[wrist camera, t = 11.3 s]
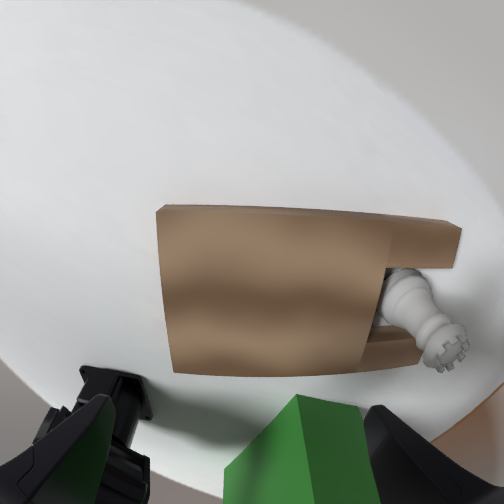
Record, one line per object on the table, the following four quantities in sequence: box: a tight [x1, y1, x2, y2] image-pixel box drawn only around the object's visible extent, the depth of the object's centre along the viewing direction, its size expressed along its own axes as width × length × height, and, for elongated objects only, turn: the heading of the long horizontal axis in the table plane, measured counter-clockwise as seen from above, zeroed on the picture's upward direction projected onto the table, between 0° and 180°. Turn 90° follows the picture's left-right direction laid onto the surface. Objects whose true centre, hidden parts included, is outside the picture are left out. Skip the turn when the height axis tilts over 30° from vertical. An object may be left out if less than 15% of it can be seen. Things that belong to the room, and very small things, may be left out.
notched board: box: [156, 205, 462, 377], centre depth 19 cm, size 12×20×2 cm, turn 88°
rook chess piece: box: [377, 269, 469, 373], centre depth 16 cm, size 4×4×8 cm
